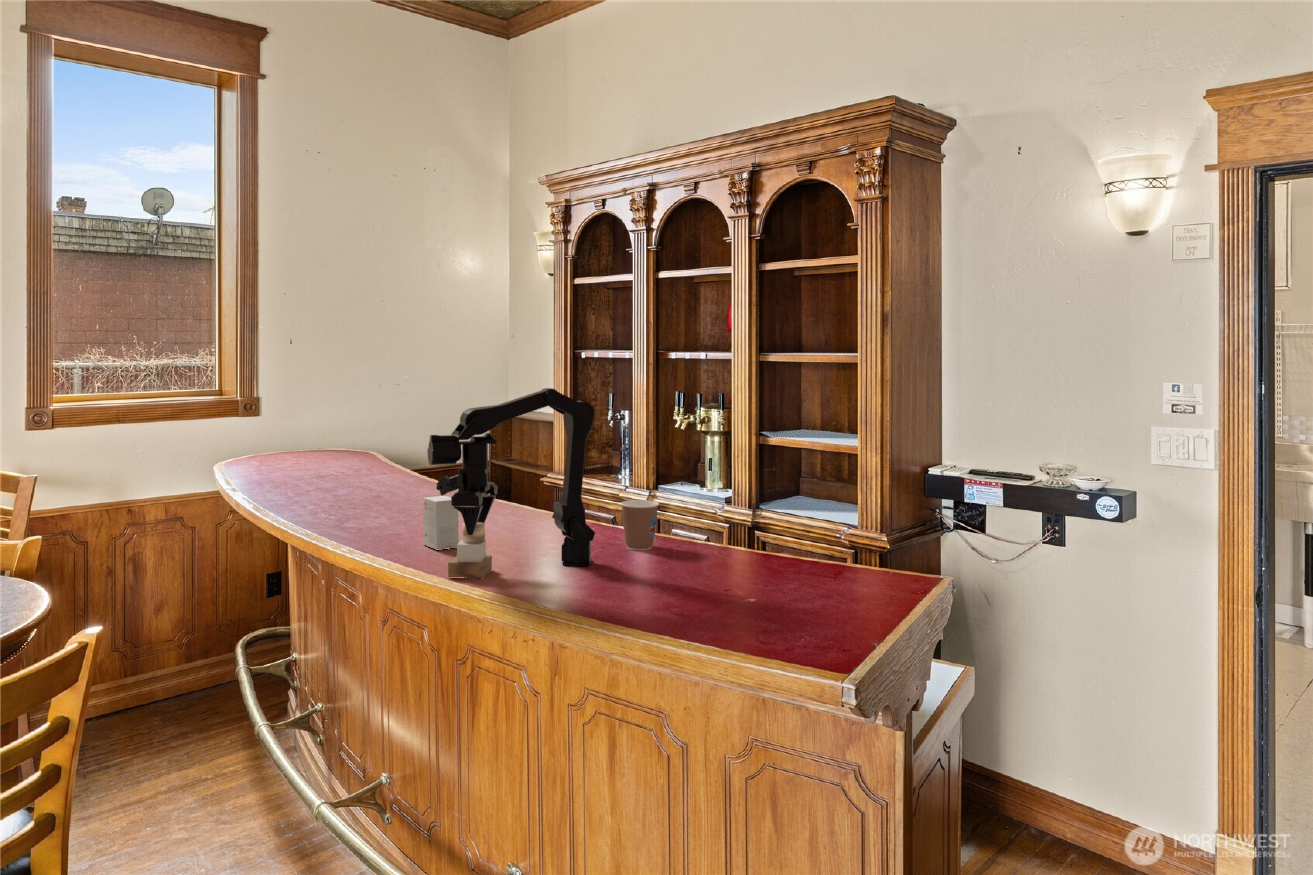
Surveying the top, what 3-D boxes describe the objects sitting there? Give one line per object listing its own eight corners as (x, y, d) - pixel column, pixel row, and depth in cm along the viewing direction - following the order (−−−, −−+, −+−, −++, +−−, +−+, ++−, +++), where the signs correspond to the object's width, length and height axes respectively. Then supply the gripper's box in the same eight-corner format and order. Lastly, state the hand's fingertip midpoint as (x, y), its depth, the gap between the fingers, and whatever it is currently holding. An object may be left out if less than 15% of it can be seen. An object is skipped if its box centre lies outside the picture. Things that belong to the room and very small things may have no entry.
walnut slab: (491, 571, 196) (491, 555, 196) (483, 580, 188) (483, 563, 188) (458, 571, 196) (457, 554, 196) (448, 579, 188) (448, 562, 188)
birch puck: (487, 539, 194) (486, 522, 194) (482, 543, 189) (482, 526, 189) (465, 538, 194) (465, 521, 194) (460, 543, 189) (460, 526, 189)
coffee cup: (658, 552, 217) (658, 506, 216) (618, 551, 217) (619, 506, 216) (658, 543, 227) (659, 500, 226) (621, 543, 228) (621, 499, 227)
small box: (459, 548, 218) (458, 499, 217) (436, 551, 214) (435, 501, 213) (445, 542, 225) (445, 495, 224) (423, 546, 221) (422, 497, 220)
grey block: (485, 556, 194) (485, 539, 194) (481, 562, 189) (481, 544, 188) (462, 556, 194) (462, 539, 194) (457, 561, 189) (456, 544, 188)
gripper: (452, 458, 200) (452, 522, 202) (427, 468, 182) (428, 538, 183) (498, 459, 200) (498, 523, 201) (478, 468, 181) (478, 539, 183)
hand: (475, 530), depth 192 cm, fingers open, 9 cm apart
